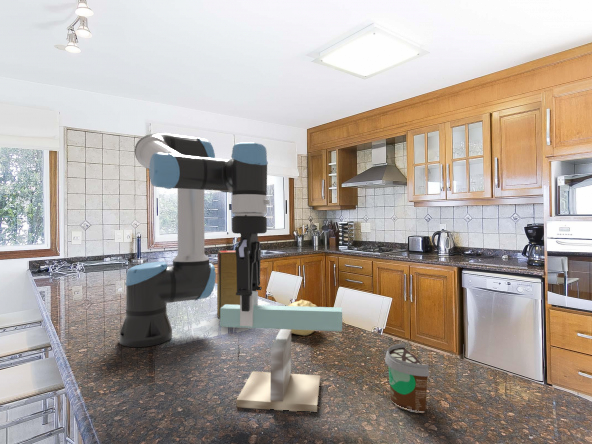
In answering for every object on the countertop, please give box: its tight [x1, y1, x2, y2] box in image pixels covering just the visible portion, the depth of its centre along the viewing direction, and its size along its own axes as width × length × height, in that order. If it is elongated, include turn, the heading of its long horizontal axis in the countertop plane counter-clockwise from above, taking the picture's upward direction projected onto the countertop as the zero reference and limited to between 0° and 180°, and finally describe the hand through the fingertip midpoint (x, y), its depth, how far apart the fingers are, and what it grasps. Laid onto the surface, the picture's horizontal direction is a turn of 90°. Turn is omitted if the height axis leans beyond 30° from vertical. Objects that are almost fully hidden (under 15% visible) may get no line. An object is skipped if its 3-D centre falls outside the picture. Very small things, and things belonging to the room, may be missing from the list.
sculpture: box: [287, 299, 318, 336], centre depth 116 cm, size 12×12×11 cm
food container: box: [384, 343, 430, 412], centre depth 72 cm, size 12×6×10 cm, turn 5°
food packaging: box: [216, 250, 240, 319], centre depth 137 cm, size 13×9×25 cm
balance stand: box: [236, 329, 321, 413], centre depth 75 cm, size 16×13×12 cm
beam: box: [219, 304, 343, 332], centre depth 75 cm, size 26×4×4 cm, turn 83°
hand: (249, 322), depth 76 cm, fingers closed on beam, 3 cm apart
